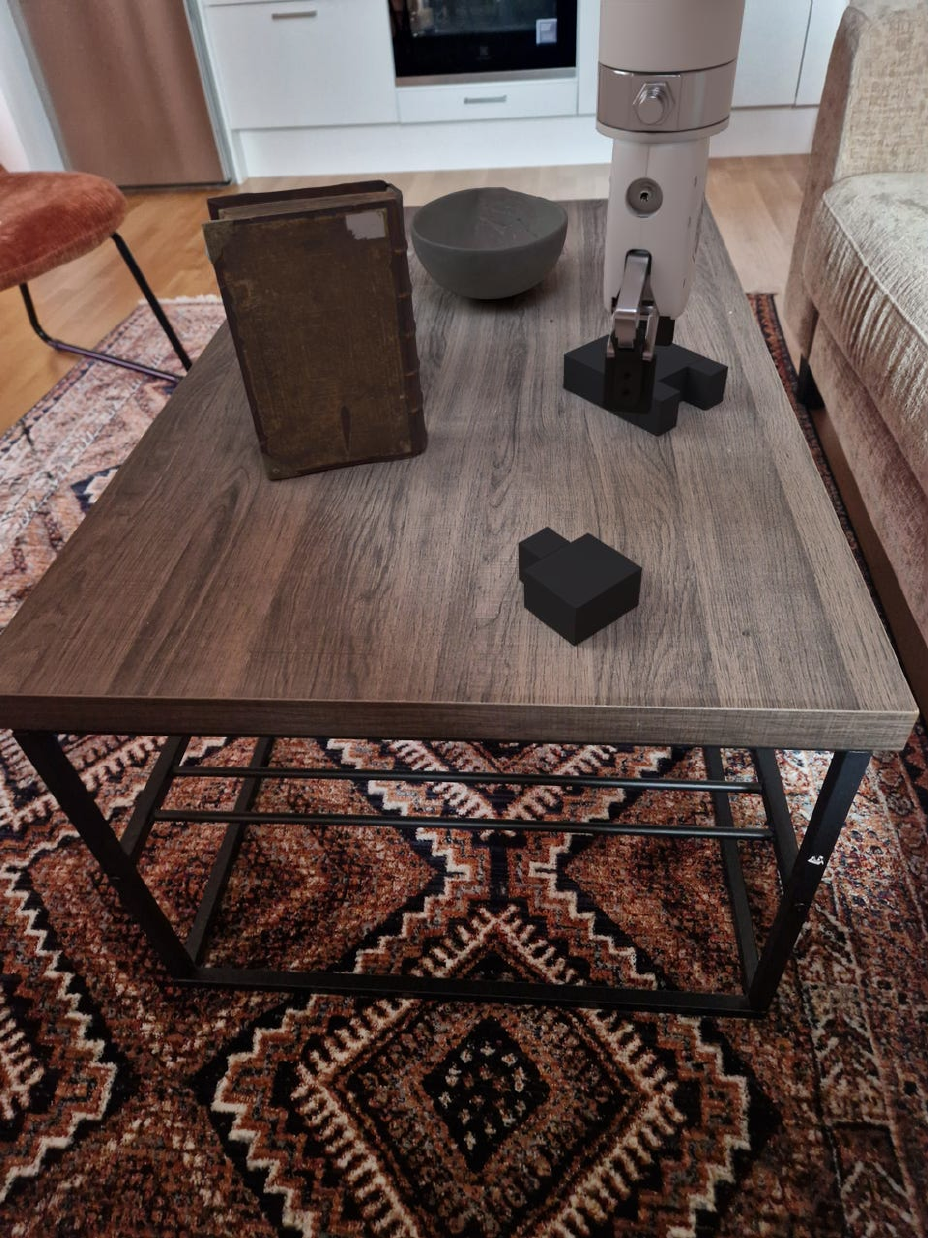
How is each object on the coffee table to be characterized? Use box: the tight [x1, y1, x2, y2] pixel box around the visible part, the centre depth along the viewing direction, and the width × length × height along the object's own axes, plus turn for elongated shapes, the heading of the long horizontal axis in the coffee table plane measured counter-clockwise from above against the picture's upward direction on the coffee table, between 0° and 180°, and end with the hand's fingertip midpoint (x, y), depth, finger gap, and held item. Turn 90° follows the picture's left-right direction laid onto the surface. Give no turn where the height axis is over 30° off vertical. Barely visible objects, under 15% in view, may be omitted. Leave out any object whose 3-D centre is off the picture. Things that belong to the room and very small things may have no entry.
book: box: [201, 179, 429, 481], centre depth 78 cm, size 17×7×25 cm, turn 95°
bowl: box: [409, 186, 569, 300], centre depth 110 cm, size 20×20×10 cm
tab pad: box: [517, 526, 643, 647], centre depth 68 cm, size 9×7×4 cm
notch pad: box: [562, 333, 729, 437], centre depth 90 cm, size 14×10×4 cm
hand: (639, 374), depth 59 cm, fingers open, 9 cm apart
